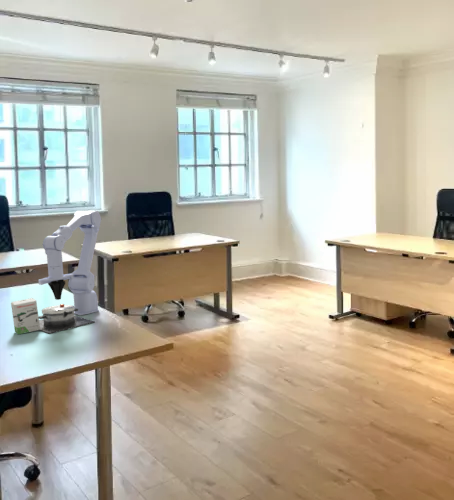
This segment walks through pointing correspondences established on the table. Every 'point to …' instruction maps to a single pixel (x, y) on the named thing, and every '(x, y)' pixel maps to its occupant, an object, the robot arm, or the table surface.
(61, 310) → the lid
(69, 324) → the cooking pot
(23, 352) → the table surface
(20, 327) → the ink box
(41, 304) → the table surface
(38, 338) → the table surface
